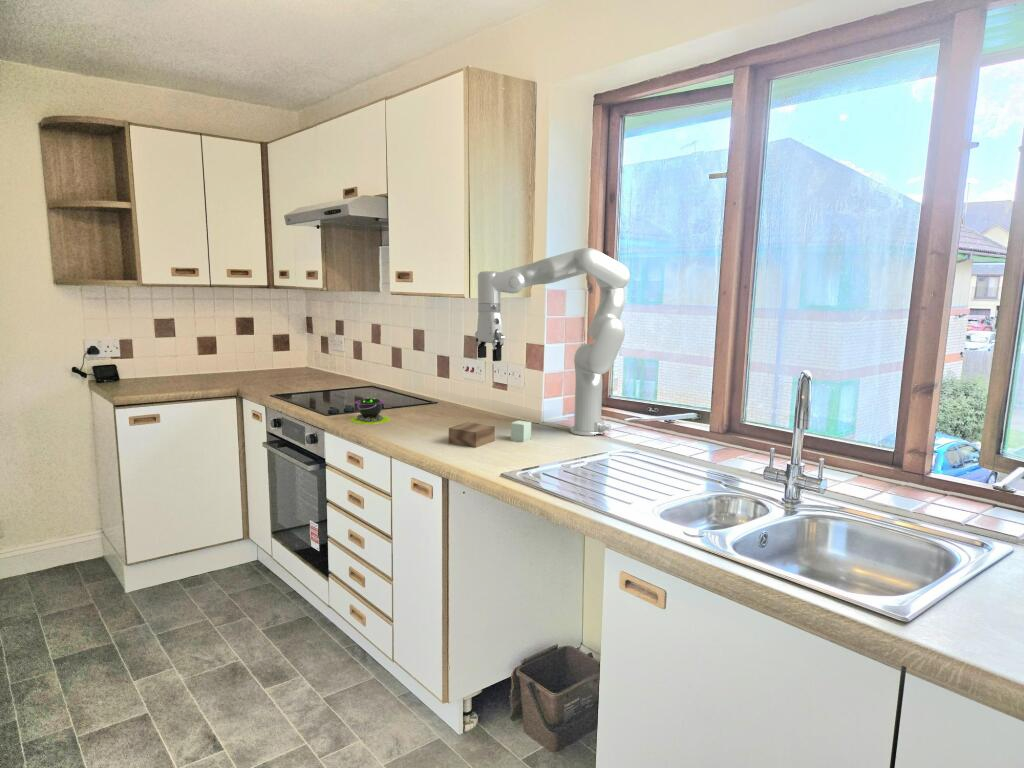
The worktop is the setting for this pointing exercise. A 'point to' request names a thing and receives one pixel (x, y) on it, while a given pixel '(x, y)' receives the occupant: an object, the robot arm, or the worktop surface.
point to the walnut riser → (471, 434)
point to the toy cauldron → (369, 412)
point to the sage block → (521, 431)
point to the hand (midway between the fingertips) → (489, 359)
